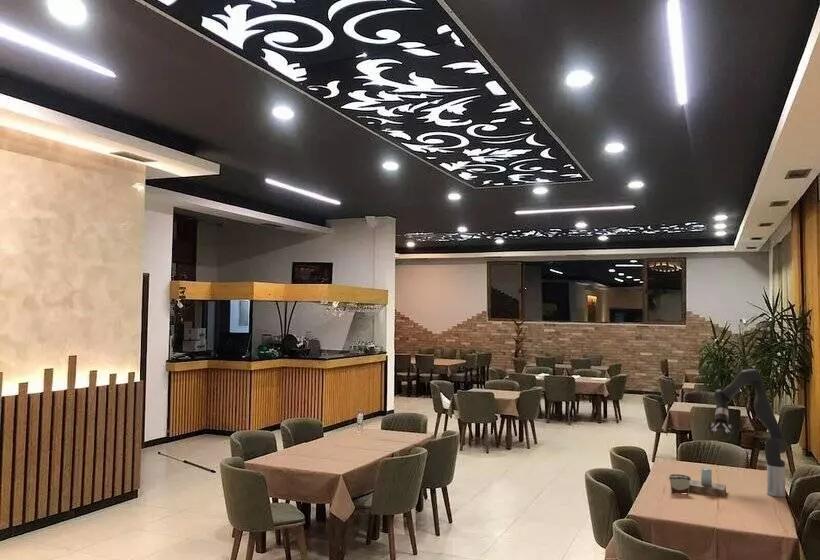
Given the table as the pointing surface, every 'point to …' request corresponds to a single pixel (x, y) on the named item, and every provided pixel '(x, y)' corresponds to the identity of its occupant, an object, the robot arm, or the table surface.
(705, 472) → the ceramic jar
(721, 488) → the walnut stand
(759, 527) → the table surface
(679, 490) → the food container
